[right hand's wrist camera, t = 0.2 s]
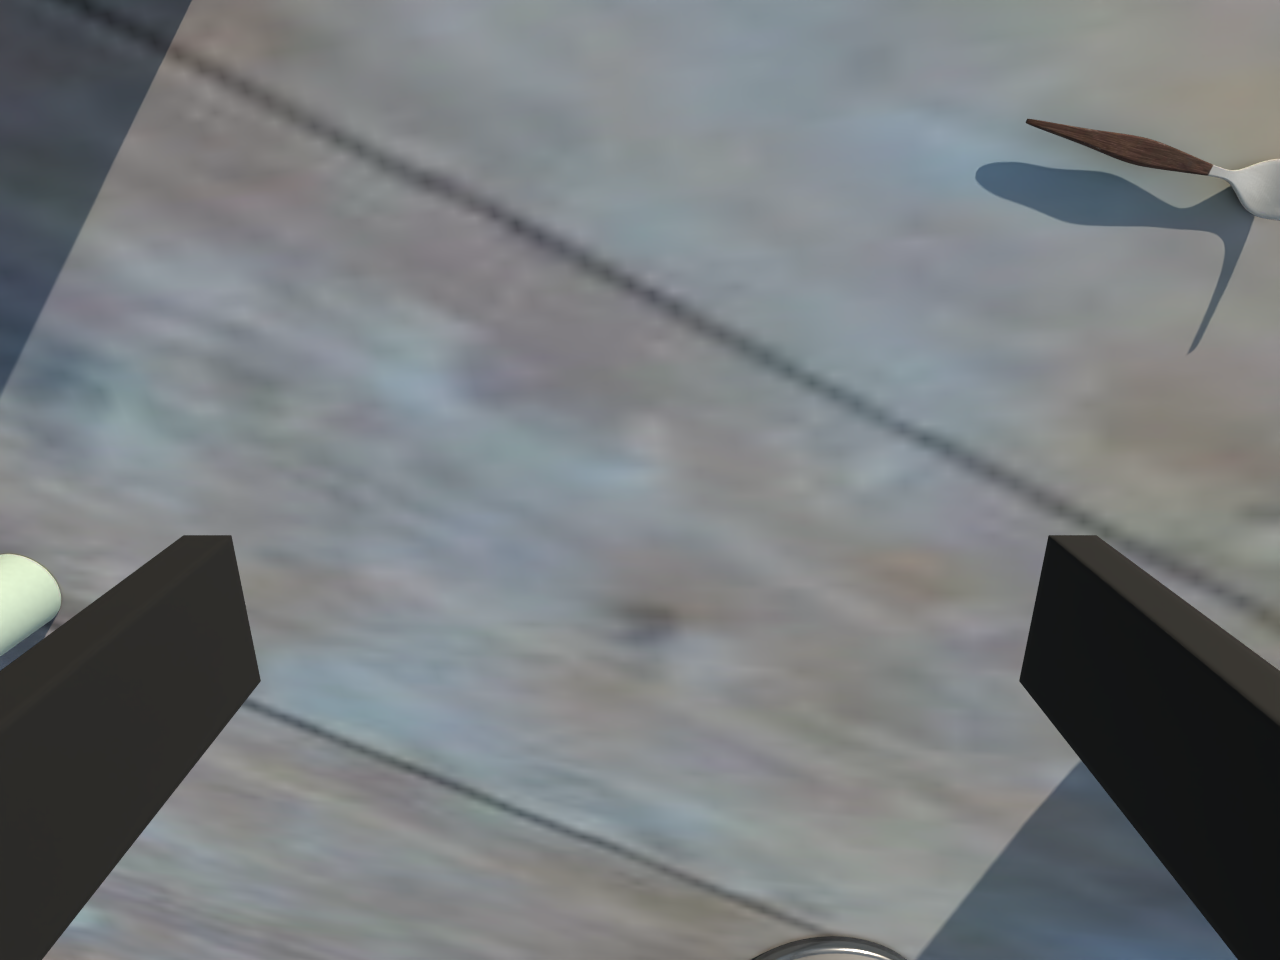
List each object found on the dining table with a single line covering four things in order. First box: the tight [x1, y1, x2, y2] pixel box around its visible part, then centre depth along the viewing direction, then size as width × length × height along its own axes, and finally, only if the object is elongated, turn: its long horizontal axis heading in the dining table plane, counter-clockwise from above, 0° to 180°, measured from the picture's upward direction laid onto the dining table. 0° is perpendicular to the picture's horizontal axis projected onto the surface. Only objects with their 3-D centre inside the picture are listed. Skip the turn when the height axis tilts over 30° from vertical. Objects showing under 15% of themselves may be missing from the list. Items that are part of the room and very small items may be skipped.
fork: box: [1026, 119, 1280, 221], centre depth 35 cm, size 3×16×2 cm, turn 77°
